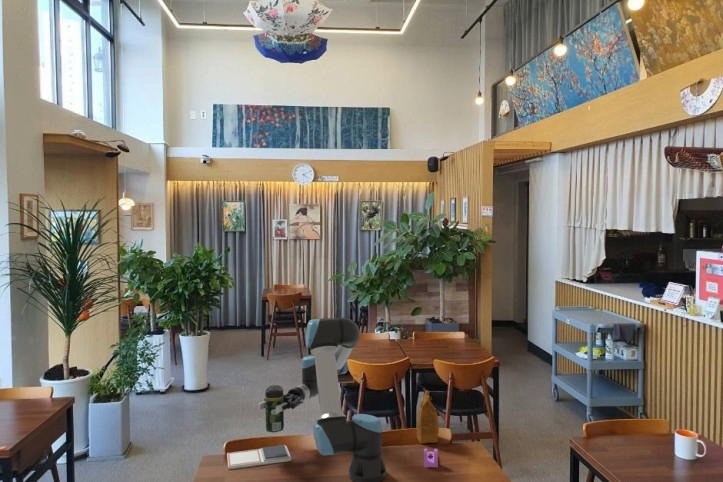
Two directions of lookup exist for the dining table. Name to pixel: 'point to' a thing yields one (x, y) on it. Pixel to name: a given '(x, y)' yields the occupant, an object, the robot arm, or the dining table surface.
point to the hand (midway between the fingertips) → (267, 408)
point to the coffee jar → (274, 408)
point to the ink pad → (274, 452)
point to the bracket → (433, 461)
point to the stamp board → (250, 459)
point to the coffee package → (427, 421)
